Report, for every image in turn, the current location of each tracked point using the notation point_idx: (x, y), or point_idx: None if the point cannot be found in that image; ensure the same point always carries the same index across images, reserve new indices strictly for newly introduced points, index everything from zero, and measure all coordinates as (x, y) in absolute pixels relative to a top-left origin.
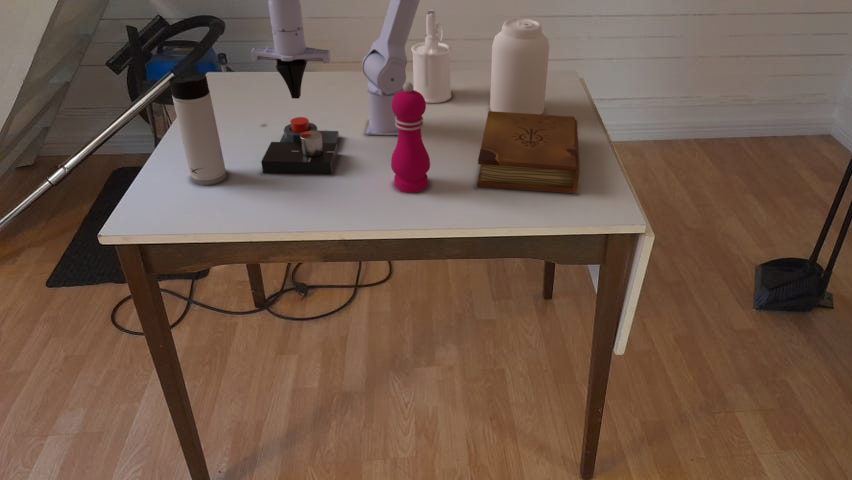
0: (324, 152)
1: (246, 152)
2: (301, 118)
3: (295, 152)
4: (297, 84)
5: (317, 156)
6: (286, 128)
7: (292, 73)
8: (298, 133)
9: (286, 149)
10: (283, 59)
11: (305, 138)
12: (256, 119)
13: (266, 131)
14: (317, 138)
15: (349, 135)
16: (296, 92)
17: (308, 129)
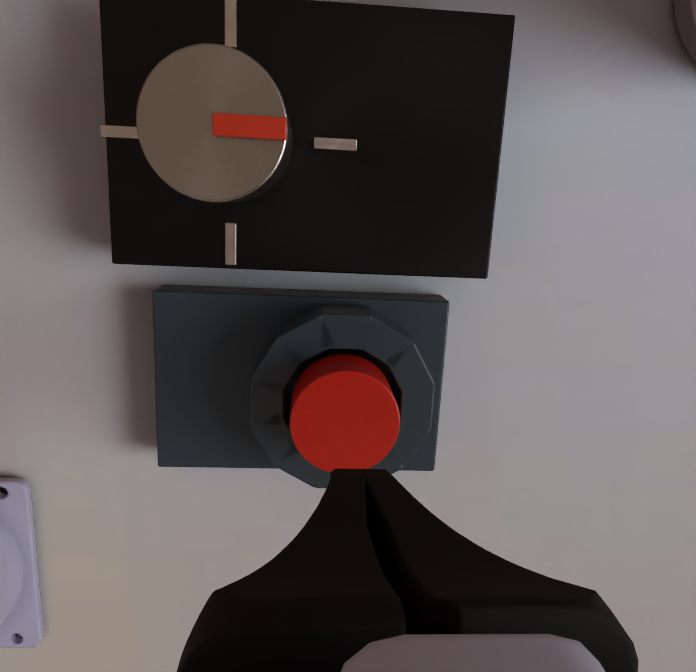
0: None
1: (597, 282)
2: (337, 454)
3: (333, 136)
4: (325, 518)
5: None
6: (421, 400)
7: (371, 577)
8: (343, 337)
9: (390, 176)
10: (559, 662)
11: (241, 63)
12: None
13: (526, 502)
14: (154, 68)
15: (118, 475)
16: (344, 483)
17: (293, 390)
